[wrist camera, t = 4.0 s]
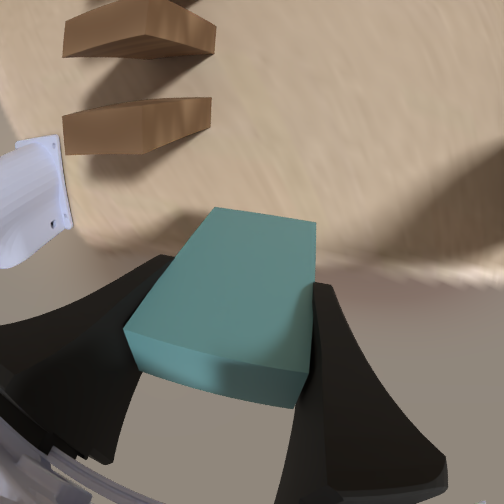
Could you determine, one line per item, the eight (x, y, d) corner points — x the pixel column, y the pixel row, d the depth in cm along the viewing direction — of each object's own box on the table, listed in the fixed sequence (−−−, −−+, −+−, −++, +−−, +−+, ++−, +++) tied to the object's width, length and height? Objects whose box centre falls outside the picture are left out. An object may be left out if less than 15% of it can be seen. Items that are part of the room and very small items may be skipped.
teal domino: (308, 258, 14) (293, 409, 7) (214, 243, 14) (139, 370, 8) (316, 222, 13) (309, 373, 6) (214, 206, 13) (123, 328, 7)
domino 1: (214, 53, 14) (145, 34, 7) (148, 59, 15) (62, 57, 8) (216, 26, 13) (149, -9, 6) (149, 34, 14) (65, 21, 7)
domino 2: (210, 127, 17) (143, 154, 10) (147, 126, 17) (65, 155, 11) (211, 97, 16) (141, 105, 9) (146, 99, 16) (62, 116, 10)
